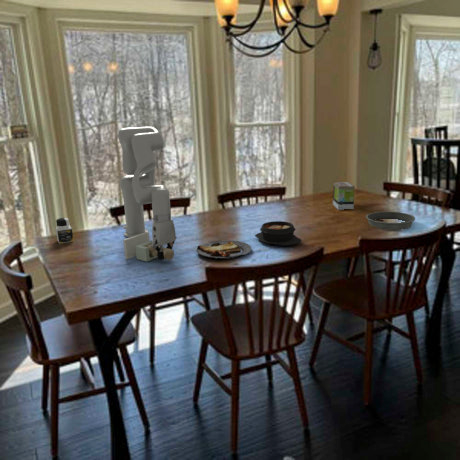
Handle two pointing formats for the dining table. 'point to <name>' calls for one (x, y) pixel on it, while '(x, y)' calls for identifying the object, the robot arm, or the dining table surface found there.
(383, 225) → the cake pan
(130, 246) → the base
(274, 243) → the casserole
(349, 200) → the tea box
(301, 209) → the dining table surface
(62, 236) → the black and yellow box
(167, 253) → the dowel
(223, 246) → the food plate
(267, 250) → the dining table surface
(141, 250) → the block
